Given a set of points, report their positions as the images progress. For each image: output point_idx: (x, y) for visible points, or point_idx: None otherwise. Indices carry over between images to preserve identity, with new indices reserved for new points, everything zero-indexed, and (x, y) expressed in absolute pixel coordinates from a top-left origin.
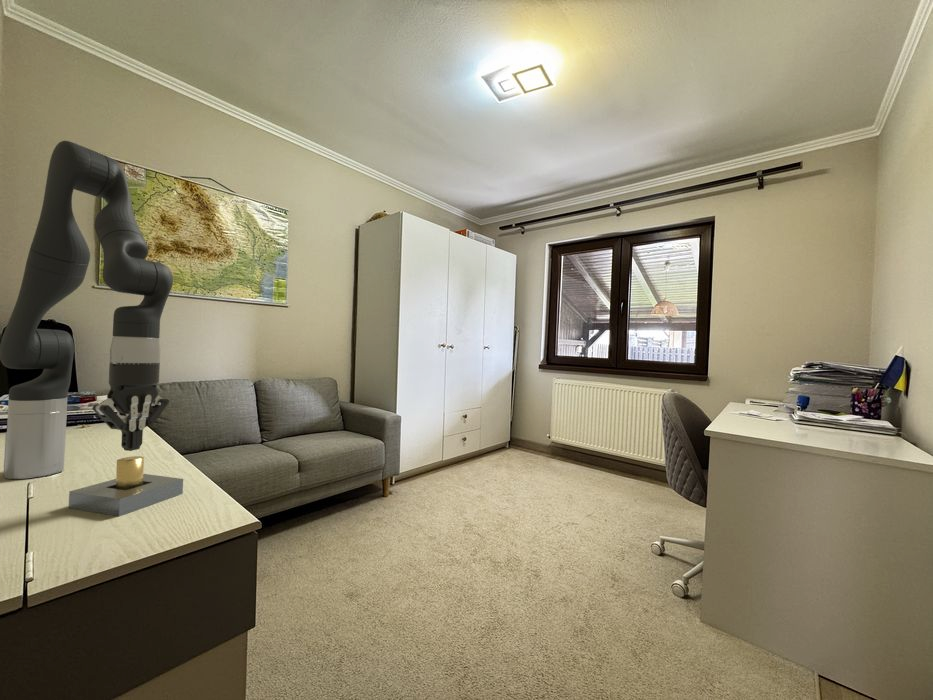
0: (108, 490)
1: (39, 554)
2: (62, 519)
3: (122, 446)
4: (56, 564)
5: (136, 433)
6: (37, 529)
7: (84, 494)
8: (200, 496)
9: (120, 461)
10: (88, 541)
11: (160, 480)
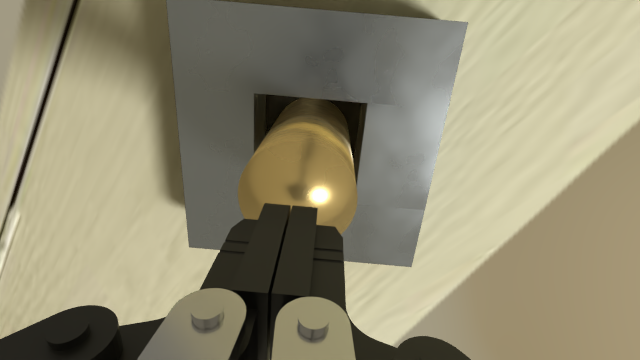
0: (232, 139)
1: (23, 237)
2: (138, 82)
3: (237, 229)
4: (26, 298)
5: (268, 357)
6: (70, 92)
7: (175, 91)
8: (395, 285)
9: (238, 200)
10: (100, 268)
11: (379, 211)
